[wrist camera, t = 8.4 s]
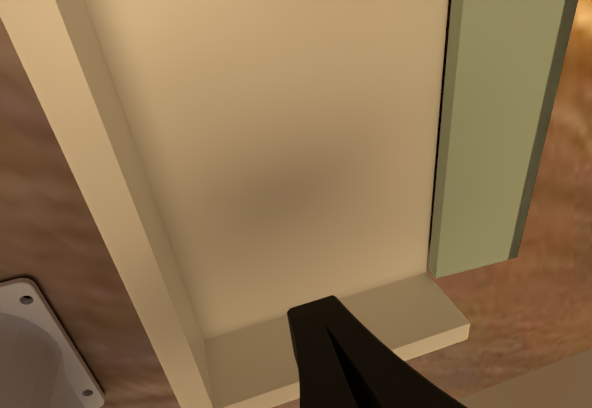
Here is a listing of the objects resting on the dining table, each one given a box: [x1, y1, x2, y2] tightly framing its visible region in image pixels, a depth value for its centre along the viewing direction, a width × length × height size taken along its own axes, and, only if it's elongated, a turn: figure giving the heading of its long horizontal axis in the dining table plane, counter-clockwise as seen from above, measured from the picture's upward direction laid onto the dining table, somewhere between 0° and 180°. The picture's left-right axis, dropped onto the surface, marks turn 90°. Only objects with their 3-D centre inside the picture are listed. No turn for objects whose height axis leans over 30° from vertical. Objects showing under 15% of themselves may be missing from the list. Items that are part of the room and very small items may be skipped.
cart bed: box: [0, 0, 470, 408], centre depth 16 cm, size 22×14×6 cm, turn 6°
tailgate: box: [429, 0, 578, 278], centre depth 18 cm, size 19×1×5 cm
